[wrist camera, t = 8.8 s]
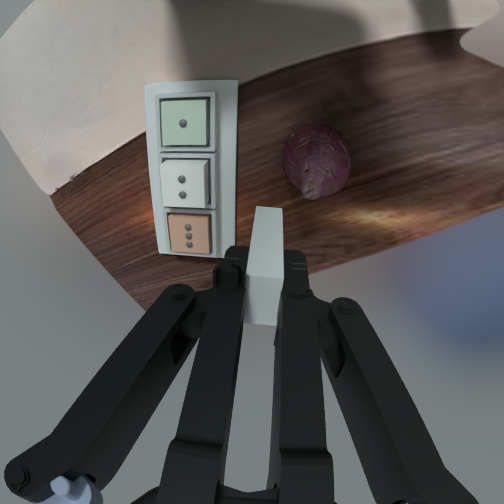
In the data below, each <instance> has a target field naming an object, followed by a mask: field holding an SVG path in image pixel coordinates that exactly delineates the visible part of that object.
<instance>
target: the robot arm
mask: <svg viewBox="0 0 504 504" xmlns="http://www.w3.org/2000/svg"><path fill="white" fill-rule="evenodd" d="M243 323H249V324H260V325H271V326H276V324H277V328H276V334H275V340H274V346H275V360H274V385H273V408H272V427H271V445H270V446H271V447H270V462H269V474H268V480H267V487H266V490H262V491H256V492H249V493H247V492H242V491H239V490H236V489H233V488H230V487H227V486H224V473H225V464H226V456H227V449H228V441H229V433H230V426H231V418H232V410H233V402H234V395H235V387H236V379H237V372H238V364H239V356H240V348H241V340H242V332H243ZM198 338H200V339H199V343H198V347H197V350H196V355H195V359H194V362H193V366H192V370H191V375H190V378H189V383H188V386H187V391H186V395H185V399H184V403H183V407H182V412H181V416H180V420H179V424H178V428H177V433H176V436H175V438H174V439H173V440H172V441H171V442H170V444H169V448H168V451H167V455H166V459H165V463H164V468H163V472H162V477H161V481H160V486H158V487H155V488H153V489H151V490H149V491H148V492H146V493H145V494H144V495H142V496H141V497H139V498H138V499H136V500H135V501H134V502H132V503H131V504H337V503H336V502H334V473H333V460H332V456H331V454H330V453H329V452H328V450H327V446H326V427H325V410H324V397H323V383H322V370H321V360H320V357H321V359H322V362H323V364H324V367H325V369H326V372H327V374H328V377H329V380H330V382H331V385H332V387H333V390H334V392H335V395H336V398H337V400H338V403H339V406H340V408H341V411H342V413H343V416H344V419H345V421H346V424H347V427H348V429H349V432H350V435H351V437H352V440H353V443H354V445H355V448H356V451H357V454H358V456H359V459H360V462H361V464H362V467H363V470H364V473H365V475H366V478H367V481H368V484H369V487H370V489H371V492H372V494H373V497H374V499H375V501H376V503H377V504H479V503H478V502H477V500H476V499H475V498H474V496H473V495H472V494H471V493H470V492H469V491H468V490H467V489H465V487H464V486H463V485H462V484H461V483H460V482H459V481H458V480H457V479H456V478H455V477H454V476H453V475H452V474H451V473H450V472H449V471H448V470H447V469H446V468H445V467H444V464H443V462H442V460H441V458H440V456H439V453H438V451H437V449H436V447H435V445H434V443H433V440H432V438H431V436H430V434H429V432H428V430H427V428H426V426H425V424H424V422H423V420H422V418H421V416H420V414H419V412H418V410H417V408H416V406H415V404H414V402H413V400H412V398H411V396H410V395H409V393H408V390H407V389H406V387H405V385H404V383H403V381H402V380H401V377H400V376H399V374H398V372H397V370H396V368H395V366H394V364H393V363H392V361H391V359H390V357H389V356H388V354H387V352H386V350H385V348H384V346H383V345H382V343H381V341H380V339H379V338H378V336H377V334H376V332H375V331H374V329H373V327H372V325H371V324H370V322H369V320H368V319H367V317H366V315H365V314H364V312H363V310H362V309H361V307H360V305H359V304H358V303H357V302H355V301H354V300H352V299H349V298H344V297H340V298H336V299H334V300H333V301H332V303H328V302H325V301H322V300H320V299H318V298H317V297H315V296H314V294H313V292H312V290H311V289H310V287H309V279H308V270H307V262H306V257H305V255H304V254H303V253H302V252H301V251H296V250H285V249H283V218H282V208H273V207H261V206H256V211H255V218H254V224H253V231H252V237H251V244H250V247H244V246H233V245H231V246H230V247H229V248H228V249H227V250H226V252H225V255H224V259H223V263H220V264H218V265H217V266H215V268H214V269H213V287H212V288H210V289H208V290H204V291H197V292H194V289H193V288H192V287H191V286H189V285H187V284H174V285H171V286H169V287H168V288H166V289H165V290H164V291H163V292H162V294H161V295H160V296H159V297H158V298H157V300H156V301H155V302H154V303H153V304H152V306H151V307H150V308H149V309H148V310H147V312H146V313H145V314H144V315H143V316H142V318H141V319H140V320H139V321H138V322H137V324H136V325H135V326H134V327H133V329H132V330H131V331H130V332H129V333H128V335H127V336H126V338H124V340H123V341H122V342H121V343H120V345H119V346H118V347H117V348H116V350H115V351H114V352H113V353H112V355H111V356H110V357H109V358H108V360H107V361H106V362H105V363H104V365H103V366H102V367H101V369H100V370H99V371H98V372H97V374H96V375H95V376H94V378H93V379H92V380H91V381H90V383H89V384H88V385H87V386H86V388H85V389H84V390H83V392H82V393H81V394H80V396H79V397H78V398H77V399H76V401H75V402H74V404H73V405H72V406H71V408H70V409H69V410H68V412H67V413H66V414H65V415H64V417H63V418H62V419H61V421H60V422H59V424H58V425H57V426H56V428H55V429H54V430H53V432H52V433H51V434H50V435H49V436H47V437H46V438H44V439H43V440H41V441H40V442H38V443H37V444H35V445H34V446H32V447H31V448H29V449H28V450H26V451H25V452H23V453H22V454H20V455H19V456H17V457H15V458H14V459H12V460H11V461H10V462H9V463H8V464H7V466H6V468H5V471H4V479H5V482H6V485H7V486H8V488H9V489H10V490H11V492H13V493H14V494H16V495H18V496H19V497H21V498H24V499H25V500H28V501H29V502H31V503H32V504H103V497H102V494H101V492H100V491H101V490H102V489H103V488H104V487H105V486H106V485H107V484H108V483H109V482H110V481H111V480H112V478H113V477H114V476H115V474H116V473H117V471H118V470H119V468H120V467H121V465H122V463H123V462H124V460H125V458H126V457H127V455H128V454H129V452H130V450H131V449H132V447H133V445H134V444H135V442H136V441H137V439H138V437H139V436H140V434H141V432H142V431H143V429H144V427H145V426H146V424H147V422H148V421H149V419H150V418H151V416H152V414H153V413H154V411H155V409H156V408H157V406H158V404H159V403H160V401H161V400H162V398H163V396H164V394H165V393H166V391H167V390H168V388H169V386H170V385H171V383H172V382H173V380H174V378H175V377H176V375H177V373H178V372H179V370H180V368H181V367H182V365H183V363H184V362H185V360H186V359H187V357H188V355H189V354H190V352H191V350H192V349H193V347H194V346H195V344H196V342H197V340H198Z"/></svg>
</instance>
